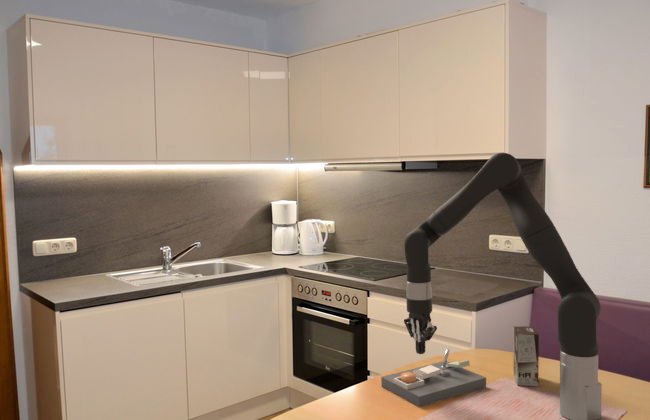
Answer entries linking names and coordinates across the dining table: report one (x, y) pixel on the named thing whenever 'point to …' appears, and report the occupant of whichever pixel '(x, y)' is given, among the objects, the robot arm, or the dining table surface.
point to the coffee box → (526, 355)
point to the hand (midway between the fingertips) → (420, 353)
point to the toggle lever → (445, 360)
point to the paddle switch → (459, 364)
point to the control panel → (434, 384)
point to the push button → (408, 377)
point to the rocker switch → (427, 372)
